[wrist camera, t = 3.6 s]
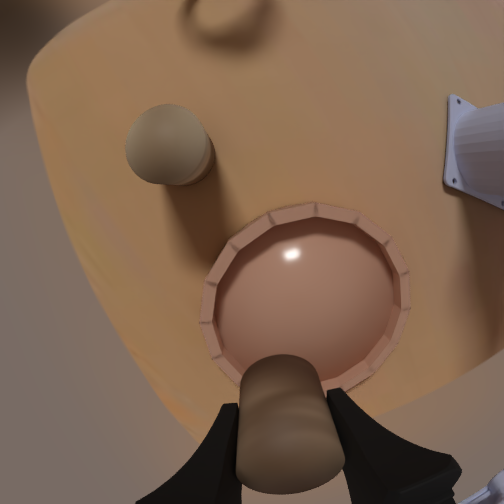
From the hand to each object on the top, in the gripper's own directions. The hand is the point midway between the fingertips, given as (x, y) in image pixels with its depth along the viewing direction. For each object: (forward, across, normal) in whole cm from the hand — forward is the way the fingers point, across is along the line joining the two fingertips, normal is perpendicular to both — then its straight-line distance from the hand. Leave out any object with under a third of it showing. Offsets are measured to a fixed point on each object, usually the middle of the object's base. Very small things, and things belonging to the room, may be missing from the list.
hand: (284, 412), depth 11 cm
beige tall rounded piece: (+9, +4, -12) cm, 16 cm away
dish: (+9, -3, -1) cm, 10 cm away
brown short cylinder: (+2, 0, 0) cm, 2 cm away
